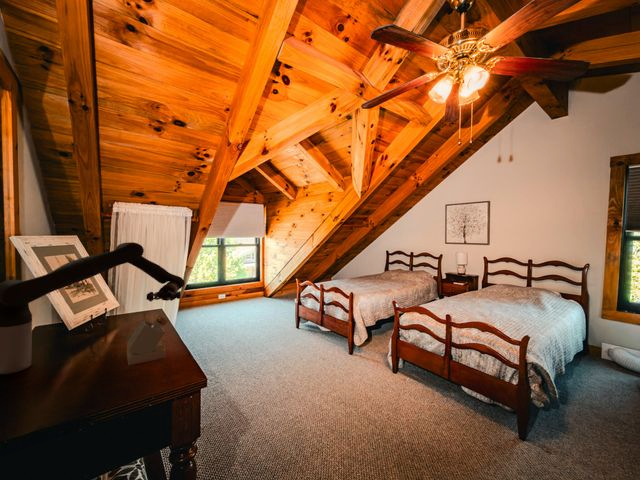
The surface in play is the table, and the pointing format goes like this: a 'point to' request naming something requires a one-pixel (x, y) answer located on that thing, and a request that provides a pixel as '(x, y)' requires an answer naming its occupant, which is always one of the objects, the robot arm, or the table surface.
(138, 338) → the socket
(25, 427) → the table surface
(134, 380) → the table surface
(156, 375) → the table surface
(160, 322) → the peg
